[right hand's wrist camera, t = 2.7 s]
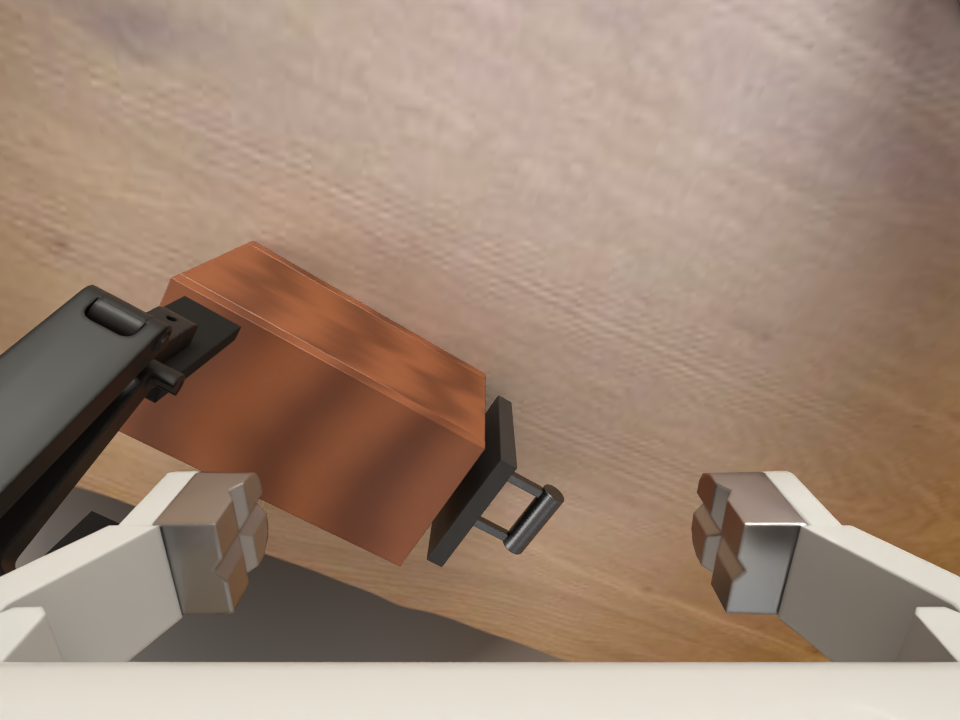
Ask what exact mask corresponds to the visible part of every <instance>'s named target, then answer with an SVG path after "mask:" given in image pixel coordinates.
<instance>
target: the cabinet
mask: <svg viewBox="0 0 960 720" xmlns="http://www.w3.org/2000/svg"><path fill="white" fill-rule="evenodd" d="M183 296H186V297H188V298H190V299H192V300H193V301H195V302H197V303H199V304H201V305H203V306H204V307H206V308H208V309H210V310H212V311H214V312H215V313H217V314H219V315H221V316H223V317H225V318H226V319H228V320H230V321H232V322H234V323H236V324H237V325H239V326H241V329H240V331H239V333H238V335H237V337H236V339H235V340H234V341H233V342H232V343H231V344H229V345H228V346H227V347H225V348H224V349H223V350H222V351H220V352H219V353H218V354H217V355H215V356H214V357H213V358H212V359H210V360H209V361H208V362H207V363H205V364H204V365H203V366H201V367H200V368H199V369H198V370H196V371H195V372H194V373H193V374H191V375H190V376H189V377H188V378H186V379H185V381H184V384H183V386H182V387H181V389H180V391H179V392H178V394H177V395H176V396H174V395H172V394H170V393H167V394H166V395H165V396H164V397H162V398H161V399H160V400H159V401H157V402H156V403H154V402H152V401H150V400H148V399H146V398H144V399H143V401H142V402H141V403H140V404H139V406H138V407H137V408H136V409H135V411H134V412H133V413H132V415H131V416H130V417H129V418H128V420H127V421H126V422H125V423H124V425H123V426H122V427H121V428H120V430H119V431H120V432H122V433H124V434H126V435H128V436H130V437H132V438H134V439H136V440H139V441H141V442H143V443H145V444H147V445H149V446H151V447H153V448H155V449H157V450H159V451H161V452H163V453H166V454H168V455H170V456H172V457H174V458H176V459H178V460H180V461H182V462H184V463H186V464H188V465H191V466H193V467H195V468H197V469H199V470H201V471H214V472H255V473H256V474H257V475H258V476H259V477H260V481H261V486H262V491H263V493H262V495H261V497H260V498H259V499H261V500H263V501H265V502H267V503H269V504H272V505H274V506H276V507H278V508H280V509H282V510H284V511H286V512H288V513H290V514H292V515H294V516H296V517H299V518H301V519H303V520H305V521H307V522H309V523H311V524H313V525H315V526H317V527H319V528H321V529H323V530H326V531H328V532H330V533H332V534H334V535H336V536H338V537H340V538H342V539H344V540H346V541H348V542H350V543H353V544H355V545H357V546H359V547H361V548H363V549H365V550H367V551H369V552H371V553H373V554H375V555H378V556H380V557H382V558H384V559H386V560H388V561H390V562H392V563H394V564H396V565H398V566H401V564H402V563H403V562H404V560H405V559H406V557H407V556H408V555H409V553H410V552H411V551H412V549H413V548H414V546H415V545H416V544H417V542H418V541H419V539H420V538H421V537H422V535H423V534H424V533H425V531H426V530H427V528H428V527H429V526H430V524H431V523H432V521H433V520H434V519H435V517H436V516H437V515H438V513H439V512H440V510H441V509H442V508H443V506H444V505H445V504H446V502H447V501H448V499H449V498H450V497H451V495H452V494H453V492H454V491H455V490H456V488H457V487H458V486H459V484H460V483H461V481H462V480H463V479H464V477H465V476H466V474H467V473H468V472H469V470H470V469H471V468H472V466H473V465H474V463H475V462H476V461H477V459H478V458H479V456H480V455H481V454H482V452H483V451H484V450H485V374H484V373H482V372H480V371H479V370H477V369H475V368H473V367H472V366H470V365H468V364H466V363H465V362H463V361H461V360H459V359H458V358H456V357H454V356H453V355H451V354H449V353H447V352H446V351H444V350H442V349H440V348H439V347H437V346H435V345H433V344H432V343H430V342H428V341H426V340H425V339H423V338H421V337H419V336H418V335H416V334H414V333H412V332H411V331H409V330H407V329H405V328H404V327H402V326H400V325H399V324H397V323H395V322H393V321H392V320H390V319H388V318H386V317H385V316H383V315H381V314H379V313H378V312H376V311H374V310H372V309H371V308H369V307H367V306H365V305H364V304H362V303H360V302H358V301H357V300H355V299H353V298H351V297H350V296H348V295H346V294H345V293H343V292H341V291H339V290H338V289H336V288H334V287H332V286H331V285H329V284H327V283H325V282H324V281H322V280H320V279H318V278H317V277H315V276H313V275H311V274H310V273H308V272H306V271H304V270H303V269H301V268H299V267H297V266H296V265H294V264H292V263H291V262H289V261H287V260H285V259H284V258H282V257H280V256H278V255H277V254H275V253H273V252H271V251H270V250H268V249H266V248H264V247H263V246H261V245H259V244H257V243H256V242H254V241H251V242H249V243H247V244H245V245H242V246H240V247H238V248H236V249H234V250H232V251H229V252H227V253H225V254H223V255H221V256H218V257H216V258H214V259H212V260H210V261H208V262H205V263H203V264H201V265H199V266H197V267H194V268H192V269H190V270H188V271H186V272H184V273H181V274H178V275H176V276H174V277H172V278H171V279H170V282H169V284H168V286H167V289H166V291H165V294H164V296H163V298H162V301H161V303H160V306H161V307H164V306H166V305H168V304H170V303H172V302H174V301H175V300H177V299H179V298H181V297H183Z"/></svg>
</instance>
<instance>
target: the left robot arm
mask: <svg viewBox="0 0 960 720" xmlns="http://www.w3.org/2000/svg"><path fill="white" fill-rule="evenodd" d="M240 329H241V326H239V325H237V324H236V323H234V322H232V321H230V320H228V319H226V318H225V317H223V316H221V315H219V314H217V313H215V312H214V311H212V310H210V309H208V308H206V307H204V306H203V305H201V304H199V303H197V302H195V301H193V300H192V299H190V298H188V297H186V296H183V297H181V298H179V299H177V300H175V301H174V302H172V303H170V304H168V305H166V306H164V307H161V306H158V307H156V308H154V309H152V310H151V311H148V312H144V311H142V310H140V309H138V308H136V307H135V306H133V305H131V304H129V303H127V302H125V301H123V300H121V299H119V298H118V297H116V296H114V295H112V294H110V293H108V292H106V291H104V290H102V289H100V288H98V287H97V286H94V285H90V286H87V287H86V288H84V289H82V290H81V291H80V292H79V293H77V294H76V295H75V296H74V297H72V298H71V299H70V300H69V301H67V302H66V303H65V304H64V305H62V306H61V307H60V308H59V309H58V310H56V311H55V312H54V313H53V314H51V315H50V316H49V317H48V318H46V319H45V320H44V321H43V322H41V323H40V324H39V325H38V326H36V327H35V328H34V329H33V330H31V331H30V332H29V333H28V334H26V335H25V336H24V337H23V338H21V339H20V340H19V341H18V342H16V343H15V344H14V345H13V346H12V347H10V348H9V349H8V350H7V351H5V352H4V353H3V354H2V355H0V577H1V576H3V575H5V574H7V573H9V572H11V571H13V570H16V568H15V562H16V560H17V559H18V557H19V556H20V555H21V553H22V552H23V551H24V549H25V548H26V547H27V546H28V544H29V543H30V542H31V541H32V539H33V538H34V537H35V536H36V534H37V533H38V532H39V531H40V529H41V528H42V527H43V525H44V524H45V523H46V522H47V520H48V519H49V518H50V517H51V515H52V514H53V513H54V512H55V510H56V509H57V508H58V507H59V505H60V504H61V503H62V502H63V500H64V499H65V498H66V497H67V495H68V494H69V493H70V491H71V490H72V489H73V488H74V486H75V485H76V484H77V483H78V481H79V480H80V479H81V478H82V476H83V475H84V474H85V473H86V471H87V470H88V469H89V467H90V466H91V465H92V464H93V462H94V461H95V460H96V459H97V457H98V456H99V455H100V454H101V452H102V451H103V450H104V449H105V447H106V446H107V445H108V444H109V442H110V441H111V440H112V438H113V437H114V436H115V435H116V433H117V432H118V431H119V430H120V428H121V427H122V426H123V425H124V423H125V422H126V421H127V420H128V418H129V417H130V416H131V415H132V413H133V412H134V411H135V409H136V408H137V407H138V406H139V404H140V403H141V402H142V401H143V399H144V398H146V399H148V400H150V401H152V402H154V403H156V402H157V401H159V400H160V399H161V398H162V397H164V396H165V395H166V394H167V393H170V394H172V395H174V396H176V395H177V394H178V392H179V391H180V389H181V387H182V386H183V384H184V381H185V379H186V378H188V377H189V376H190V375H191V374H193V373H194V372H195V371H196V370H198V369H199V368H200V367H201V366H203V365H204V364H205V363H207V362H208V361H209V360H210V359H212V358H213V357H214V356H215V355H217V354H218V353H219V352H220V351H222V350H223V349H224V348H225V347H227V346H228V345H229V344H231V343H232V342H233V341H234V340H235V339H236V337H237V335H238V333H239V331H240ZM109 525H119V523H117V522H115V521H113V520H110V519H108V518H106V517H104V516H102V515H99V514H97V513H95V512H93V511H92V512H90V513H89V514H88V515H87V516H86V517H85V518H84V519H83V520H82V521H81V522H80V523H79V524H78V525H76V526H75V527H74V528H73V529H72V530H71V531H70V532H69V533H68V534H67V535H66V536H65V537H64V538H63V539H62V540H60V541H59V542H58V543H57V544H56V545H55V546H54V547H53V548H52V549H51V550H50V551H49V552H48V553H47V554H50V553H52V552H54V551H56V550H58V549H60V548H62V547H64V546H67V545H69V544H71V543H73V542H75V541H77V540H79V539H81V538H84V537H86V536H88V535H90V534H92V533H94V532H96V531H98V530H101V529H103V528H105V527H107V526H109ZM47 554H45V555H47ZM45 555H44V556H45Z"/></svg>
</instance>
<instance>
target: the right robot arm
mask: <svg viewBox="0 0 960 720" xmlns="http://www.w3.org/2000/svg"><path fill="white" fill-rule="evenodd" d="M959 1H960V0H959ZM262 493H263V491H262V486H261V481H260V477H259V476H258V475H257V474H256V473H255V472H214V471H202V472H200V471H174V472H170V473H167V474H166V476H165V477H164V478H163V479H162V480H161V481H160V482H159V483H158V484H157V485H156V486H155V487H154V488H153V489H152V490H151V491H150V492H149V493H148V495H147V496H146V497H145V498H144V499H143V500H142V501H141V502H140V503H139V504H138V505H137V506H136V507H135V508H134V509H133V510H132V511H131V513H130V514H129V515H128V516H127V517H126V518H125V519H124V520H123V521H122V522H121V523H120V524H119V525H109V526H107V527H105V528H103V529H101V530H98V531H96V532H94V533H92V534H90V535H88V536H86V537H84V538H81V539H79V540H77V541H75V542H73V543H71V544H69V545H67V546H64V547H62V548H60V549H58V550H56V551H54V552H52V553H50V554H47V555H45V556H43V557H41V558H39V559H37V560H35V561H33V562H30V563H28V564H26V565H24V566H22V567H20V568H18V569H16V570H13V571H11V572H9V573H7V574H5V575H3V576H1V577H0V720H960V577H959V576H957V575H955V574H953V573H950V572H948V571H946V570H944V569H942V568H940V567H938V566H936V565H934V564H931V563H929V562H927V561H925V560H923V559H921V558H919V557H917V556H914V555H912V554H910V553H908V552H906V551H904V550H902V549H900V548H898V547H895V546H893V545H891V544H889V543H887V542H885V541H883V540H881V539H878V538H876V537H874V536H872V535H870V534H868V533H866V532H864V531H862V530H859V529H857V528H855V527H853V526H851V525H841V524H840V523H839V522H838V521H837V520H836V519H835V518H834V517H833V516H832V515H831V514H830V512H829V511H828V510H827V509H826V508H825V507H824V506H823V505H822V504H821V503H820V502H819V501H818V500H817V499H816V498H815V497H814V496H813V494H812V493H811V492H810V491H809V490H808V489H807V488H806V487H805V486H804V485H803V484H802V483H801V482H800V481H799V480H798V479H797V478H796V476H795V475H794V474H792V473H790V472H788V471H763V472H735V473H703V474H702V476H701V478H700V480H699V485H698V490H697V493H698V495H699V497H700V498H701V500H702V502H703V504H702V505H701V506H700V507H699V508H698V509H697V510H696V511H695V512H694V514H693V521H692V539H693V546H694V549H695V552H696V555H697V557H698V559H699V561H700V563H701V565H702V566H703V567H705V568H706V569H708V570H709V571H711V572H712V573H713V576H712V581H711V585H712V587H713V589H714V590H715V592H716V594H717V596H718V598H719V600H720V602H721V604H722V605H723V607H724V609H725V611H726V613H731V614H767V615H778V618H779V619H780V620H782V621H783V622H784V623H785V624H787V625H788V626H789V627H790V628H791V629H793V630H794V631H795V632H796V633H798V634H799V635H800V636H801V637H803V638H804V639H805V640H806V641H807V642H809V643H810V644H811V645H812V646H814V647H815V648H816V649H817V650H819V651H820V652H821V653H822V654H823V655H825V656H826V657H827V658H828V659H830V660H831V661H832V662H128V661H129V660H131V659H132V658H133V657H134V656H135V655H137V654H138V653H139V652H140V651H142V650H143V649H144V648H145V647H147V646H148V645H149V644H150V643H152V642H153V641H154V640H155V639H156V638H158V637H159V636H160V635H161V634H163V633H164V632H165V631H166V630H167V629H169V628H170V627H171V626H172V625H174V624H175V623H176V622H177V621H179V620H180V619H181V618H182V615H193V614H228V613H234V611H235V609H236V607H237V606H238V604H239V602H240V600H241V598H242V596H243V594H244V592H245V590H246V589H247V587H248V585H249V581H248V576H247V573H248V572H249V571H251V570H252V569H254V568H255V567H257V566H258V565H259V563H260V561H261V559H262V557H263V555H264V553H265V549H266V544H267V540H268V520H267V514H266V512H265V511H264V510H263V509H262V508H261V507H260V506H259V505H258V504H257V502H258V500H259V498H260V497H261V495H262Z"/></svg>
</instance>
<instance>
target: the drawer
mask: <svg viewBox="0 0 960 720" xmlns="http://www.w3.org/2000/svg"><path fill="white" fill-rule="evenodd" d="M516 469H517V462H516V450H515V439H514V427H513V416H512V405H511V402H509V401H508V400H506V399H504V398H502V397H500V396H498V397H497V398H496V400H495V401H494V402H493V404H492V405H491V407H490V408H489V410H488V411H487V412H486V414H485V450H484V451H483V452H482V454H481V455H480V456H479V458H478V459H477V461H476V462H475V463H474V465H473V466H472V468H471V469H470V470H469V472H468V473H467V474H466V476H465V477H464V479H463V480H462V481H461V483H460V484H459V486H458V487H457V488H456V490H455V491H454V492H453V494H452V495H451V497H450V498H449V499H448V501H447V502H446V504H445V505H444V506H443V508H442V509H441V510H440V512H439V513H438V515H437V516H436V517H435V519H434V520H433V521H432V527H431V534H430V541H429V548H428V555H427V560H428V561H431V562H433V563H435V564H437V565H439V566H441V567H442V566H443V565H444V563H445V562H446V561H447V560H448V558H449V557H450V556H451V554H452V553H453V552H454V550H455V549H456V548H457V546H458V545H459V544H460V542H461V541H462V540H463V538H464V537H465V536H466V535H467V533H468V532H469V531H470V529H471V528H472V527H473V526H475V527H477V528H479V529H481V530H483V531H485V532H487V533H489V534H491V535H493V536H495V537H497V538H499V539H501V540H503V543H504V545H505V547H506V548H507V549H508V550H509V551H510V552H512V553H514V554H521V553H522V552H523V551H524V549H525V548H526V547H527V546H528V544H529V543H530V542H531V541H532V540H533V538H534V537H535V536H536V535H537V534H538V532H539V531H540V530H541V529H542V527H543V526H544V525H545V524H546V523H547V521H548V520H549V519H550V518H551V516H552V515H553V514H554V513H555V512H556V510H557V509H558V508H559V507H560V505H561V504H562V503H563V502H564V497H563V495H562V493H561V492H560V491H559V490H558V489H557V488H555V487H554V486H552V485H549V484H547V485H545V486H544V487H543V488H542V487H541V486H539V485H538V484H536V483H534V482H532V481H530V480H528V479H526V478H525V477H523V476H521V475H519V474H517V473H515V472H514V471H515V470H516ZM507 481H508V482H510V483H512V484H514V485H516V486H517V487H519V488H521V489H523V490H525V491H527V492H529V493H530V494H532V495H534V496H536V497H535V498H534V499H533V501H532V502H531V503H530V504H529V506H528V507H527V508H526V509H525V511H524V512H523V513H522V515H521V516H520V517H519V518H518V520H517V521H516V522H515V523H514V525H513V526H512V527H511V528H510V530H509V531H508V530H506V529H504V528H502V527H500V526H498V525H496V524H495V523H493V522H491V521H489V520H487V519H485V518H483V517H481V515H482V513H483V512H484V511H485V510H486V508H487V507H488V506H489V504H490V503H491V502H492V500H493V499H494V498H495V496H496V495H497V494H498V492H499V491H500V490H501V488H502V487H503V486H504V485H505V483H506V482H507Z"/></svg>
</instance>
